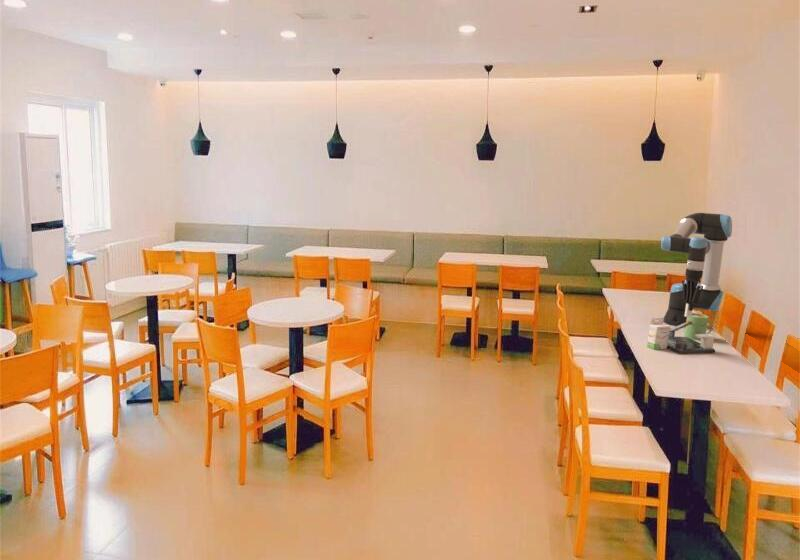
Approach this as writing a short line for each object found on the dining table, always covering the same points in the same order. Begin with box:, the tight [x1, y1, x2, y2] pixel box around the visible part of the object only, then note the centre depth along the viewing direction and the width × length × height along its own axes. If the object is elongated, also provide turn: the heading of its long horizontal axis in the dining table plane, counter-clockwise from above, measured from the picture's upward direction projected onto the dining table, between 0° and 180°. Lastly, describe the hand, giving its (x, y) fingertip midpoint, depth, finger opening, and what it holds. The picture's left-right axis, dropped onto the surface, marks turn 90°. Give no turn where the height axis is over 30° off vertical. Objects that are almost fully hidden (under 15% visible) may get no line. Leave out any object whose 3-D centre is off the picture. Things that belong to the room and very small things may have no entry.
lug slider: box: [695, 333, 715, 349], centre depth 306 cm, size 8×4×6 cm, turn 102°
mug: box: [683, 312, 713, 341], centre depth 330 cm, size 13×10×12 cm
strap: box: [669, 321, 693, 333], centre depth 312 cm, size 3×19×1 cm, turn 12°
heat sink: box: [668, 336, 689, 346], centre depth 312 cm, size 8×8×3 cm
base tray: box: [666, 327, 716, 355], centre depth 313 cm, size 20×22×6 cm
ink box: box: [646, 317, 671, 350], centre depth 308 cm, size 9×5×15 cm, turn 113°
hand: (687, 316), depth 305 cm, fingers closed
